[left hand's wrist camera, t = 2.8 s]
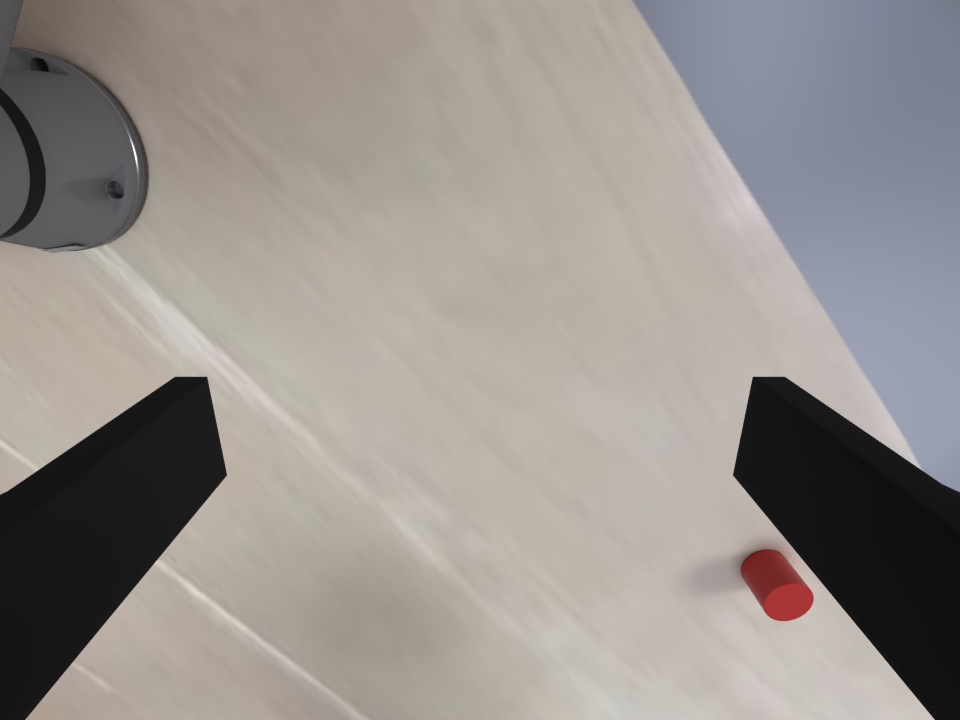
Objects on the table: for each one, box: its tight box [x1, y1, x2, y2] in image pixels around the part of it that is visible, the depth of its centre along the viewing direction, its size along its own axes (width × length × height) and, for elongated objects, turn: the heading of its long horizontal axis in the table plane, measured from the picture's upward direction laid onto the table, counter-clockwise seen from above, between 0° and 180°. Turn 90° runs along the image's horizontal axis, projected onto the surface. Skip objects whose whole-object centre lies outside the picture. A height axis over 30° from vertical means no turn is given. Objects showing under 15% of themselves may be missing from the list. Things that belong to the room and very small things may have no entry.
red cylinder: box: [741, 550, 814, 621], centre depth 56 cm, size 5×5×5 cm
